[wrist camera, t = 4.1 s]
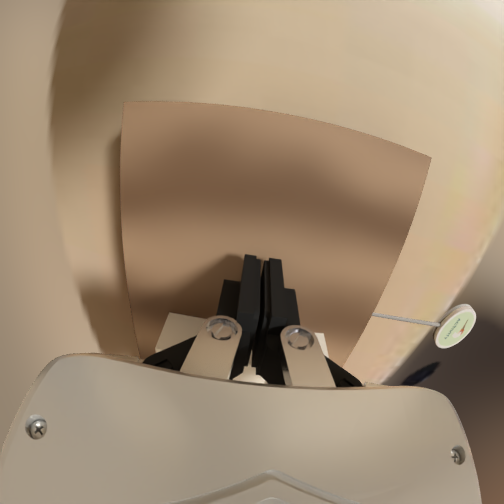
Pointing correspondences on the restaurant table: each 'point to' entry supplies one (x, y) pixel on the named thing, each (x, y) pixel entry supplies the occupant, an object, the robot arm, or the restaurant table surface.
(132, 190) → the board
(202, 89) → the restaurant table surface
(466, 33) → the restaurant table surface
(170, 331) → the cream rectangular block
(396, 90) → the restaurant table surface
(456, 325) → the sign
